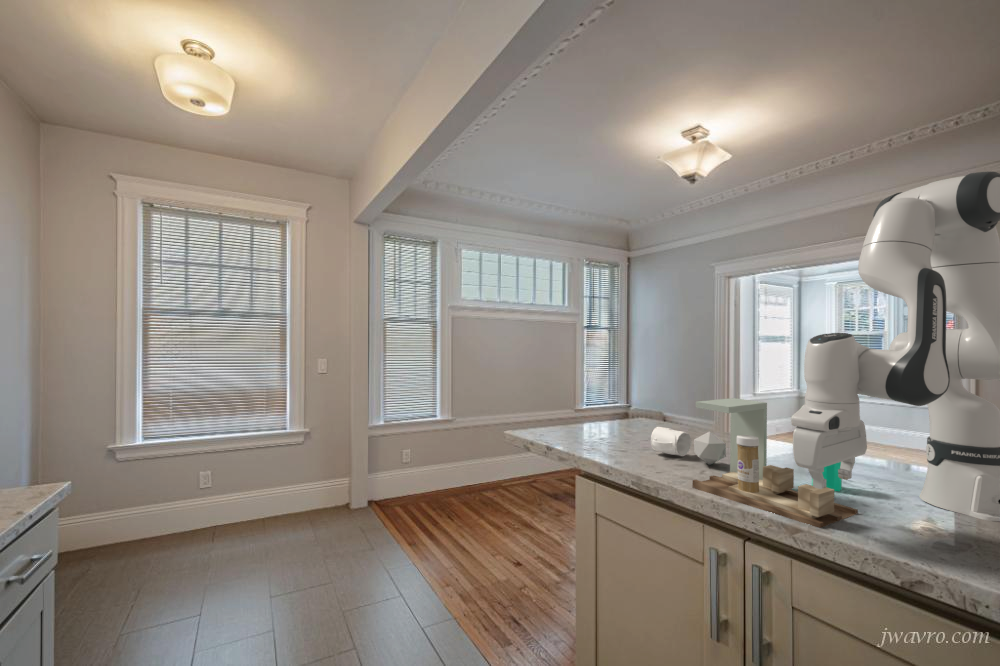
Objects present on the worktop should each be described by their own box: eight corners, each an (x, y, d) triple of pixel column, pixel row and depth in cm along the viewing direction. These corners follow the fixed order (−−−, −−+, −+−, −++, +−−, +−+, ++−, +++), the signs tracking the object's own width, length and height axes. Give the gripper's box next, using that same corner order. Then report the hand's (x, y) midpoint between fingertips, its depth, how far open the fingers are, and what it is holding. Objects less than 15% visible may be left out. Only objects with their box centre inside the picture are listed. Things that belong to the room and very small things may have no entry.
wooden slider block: (793, 493, 105) (793, 469, 105) (778, 497, 102) (778, 472, 102) (734, 475, 118) (735, 454, 118) (720, 479, 115) (720, 457, 115)
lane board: (857, 518, 95) (857, 509, 95) (819, 532, 87) (819, 523, 87) (730, 478, 120) (730, 471, 120) (692, 487, 113) (692, 480, 113)
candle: (811, 484, 116) (812, 438, 116) (840, 489, 112) (841, 441, 112) (811, 491, 111) (812, 442, 111) (842, 496, 107) (842, 446, 107)
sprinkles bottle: (733, 493, 105) (732, 435, 105) (745, 490, 107) (744, 433, 108) (752, 498, 101) (750, 438, 101) (764, 495, 103) (763, 436, 103)
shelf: (766, 488, 113) (766, 402, 113) (728, 498, 105) (728, 406, 105) (732, 477, 121) (733, 398, 121) (695, 486, 113) (695, 401, 113)
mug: (664, 448, 152) (665, 424, 152) (691, 454, 145) (691, 429, 145) (644, 454, 144) (645, 429, 144) (671, 460, 137) (672, 434, 137)
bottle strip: (834, 517, 91) (834, 489, 91) (818, 523, 88) (818, 494, 88) (742, 488, 108) (742, 464, 108) (726, 492, 106) (726, 467, 106)
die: (730, 470, 127) (730, 435, 127) (696, 468, 129) (697, 433, 129) (721, 462, 136) (722, 429, 136) (690, 460, 137) (690, 427, 137)
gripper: (841, 406, 97) (842, 469, 98) (785, 418, 88) (786, 488, 88) (876, 410, 92) (877, 477, 92) (821, 423, 82) (822, 498, 83)
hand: (832, 483), depth 90 cm, fingers open, 8 cm apart
